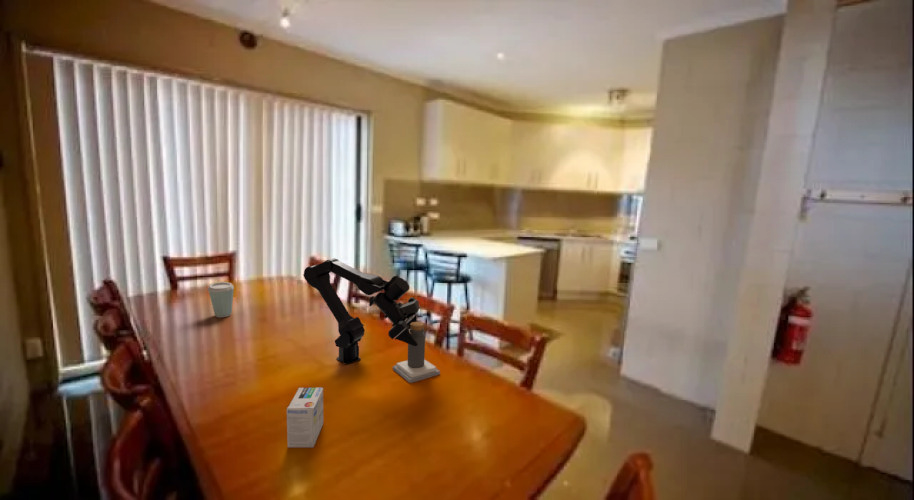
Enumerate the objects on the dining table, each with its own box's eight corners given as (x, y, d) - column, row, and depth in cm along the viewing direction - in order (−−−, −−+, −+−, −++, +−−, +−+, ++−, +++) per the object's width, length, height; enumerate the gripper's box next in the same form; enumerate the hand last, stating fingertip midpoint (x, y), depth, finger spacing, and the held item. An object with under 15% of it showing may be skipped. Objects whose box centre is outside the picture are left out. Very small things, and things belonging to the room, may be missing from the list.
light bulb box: (299, 423, 114) (298, 386, 112) (324, 423, 114) (323, 386, 113) (286, 448, 103) (285, 408, 102) (314, 448, 104) (313, 408, 102)
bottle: (421, 369, 143) (422, 327, 141) (405, 367, 145) (406, 325, 142) (426, 362, 149) (427, 322, 147) (410, 360, 150) (411, 320, 148)
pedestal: (410, 383, 139) (410, 376, 138) (392, 369, 148) (392, 362, 148) (439, 374, 146) (440, 367, 145) (421, 361, 155) (421, 355, 155)
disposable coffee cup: (240, 315, 196) (238, 284, 194) (217, 321, 187) (215, 288, 185) (227, 310, 202) (226, 280, 199) (204, 316, 193) (202, 284, 190)
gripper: (398, 300, 134) (431, 336, 134) (412, 285, 152) (441, 317, 152) (374, 321, 136) (406, 356, 136) (391, 304, 154) (419, 336, 155)
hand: (419, 340), depth 145 cm, fingers open, 9 cm apart
